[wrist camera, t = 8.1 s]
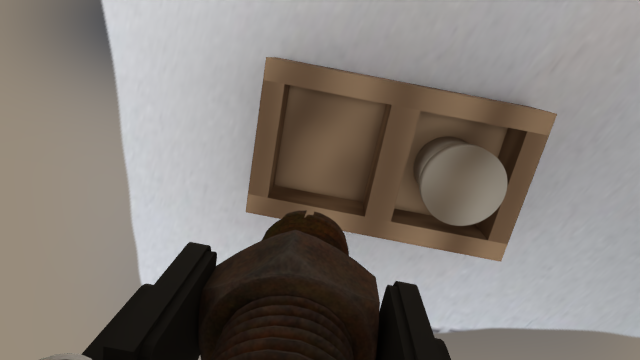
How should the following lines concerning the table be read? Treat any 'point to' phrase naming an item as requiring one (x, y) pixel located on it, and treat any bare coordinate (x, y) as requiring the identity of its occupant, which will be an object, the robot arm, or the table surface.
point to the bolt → (291, 298)
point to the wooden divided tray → (394, 157)
